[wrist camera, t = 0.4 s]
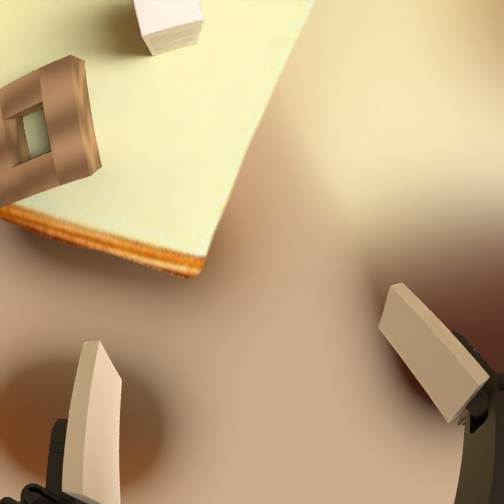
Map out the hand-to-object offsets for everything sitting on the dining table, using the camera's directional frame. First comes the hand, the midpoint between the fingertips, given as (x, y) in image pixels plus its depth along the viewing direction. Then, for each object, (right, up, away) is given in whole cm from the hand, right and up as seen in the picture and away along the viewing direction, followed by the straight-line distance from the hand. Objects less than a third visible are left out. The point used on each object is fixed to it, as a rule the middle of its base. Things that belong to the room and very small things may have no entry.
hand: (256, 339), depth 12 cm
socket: (-26, +19, +14) cm, 35 cm away
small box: (-10, +30, +13) cm, 34 cm away
